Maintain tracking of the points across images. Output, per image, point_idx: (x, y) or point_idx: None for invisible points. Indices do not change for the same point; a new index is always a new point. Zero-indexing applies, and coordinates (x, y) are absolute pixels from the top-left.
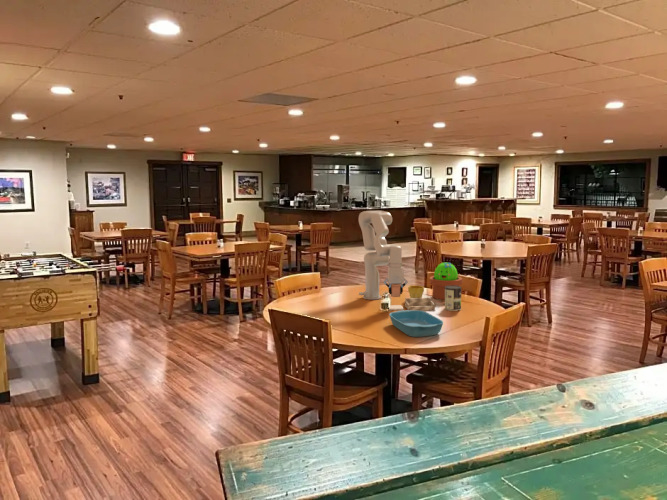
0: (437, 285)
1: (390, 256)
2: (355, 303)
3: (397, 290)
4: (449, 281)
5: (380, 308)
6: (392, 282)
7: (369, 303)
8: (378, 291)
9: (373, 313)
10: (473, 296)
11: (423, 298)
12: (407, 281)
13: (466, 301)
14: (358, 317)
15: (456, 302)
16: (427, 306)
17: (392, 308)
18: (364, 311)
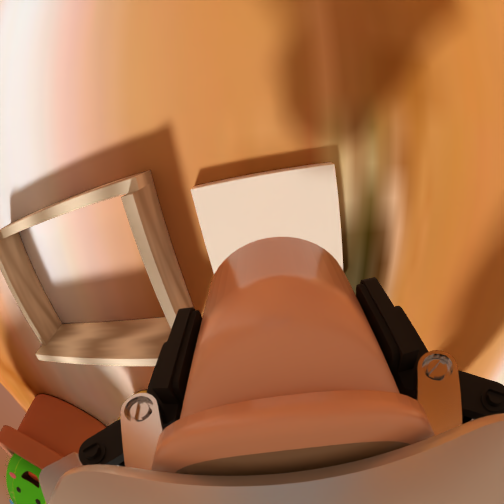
0: (56, 454)
1: None
2: (487, 325)
3: (245, 312)
4: (7, 445)
5: (398, 227)
6: (443, 481)
7: (431, 343)
8: None
9: (444, 67)
10: (24, 409)
11: (66, 355)
12: (42, 483)
13: (2, 368)
14: (492, 4)
15: None
16: (19, 221)
17: (302, 179)
18: (493, 136)
